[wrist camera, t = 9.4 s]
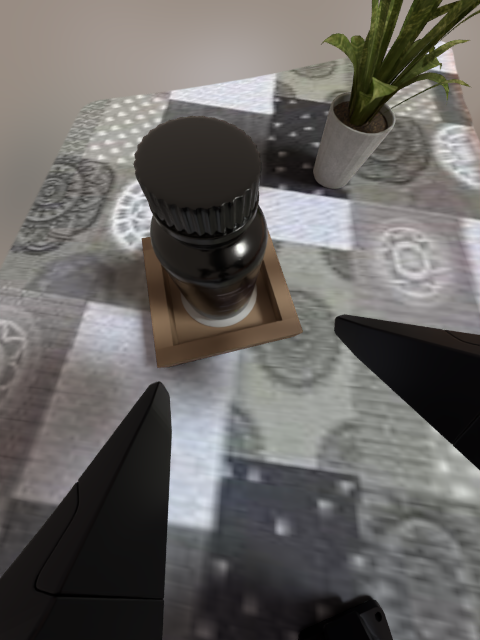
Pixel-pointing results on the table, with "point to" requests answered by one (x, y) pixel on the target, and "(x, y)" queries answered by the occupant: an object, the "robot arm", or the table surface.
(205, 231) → the supplement bottle
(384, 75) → the house plant
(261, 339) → the holder
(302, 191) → the table surface
